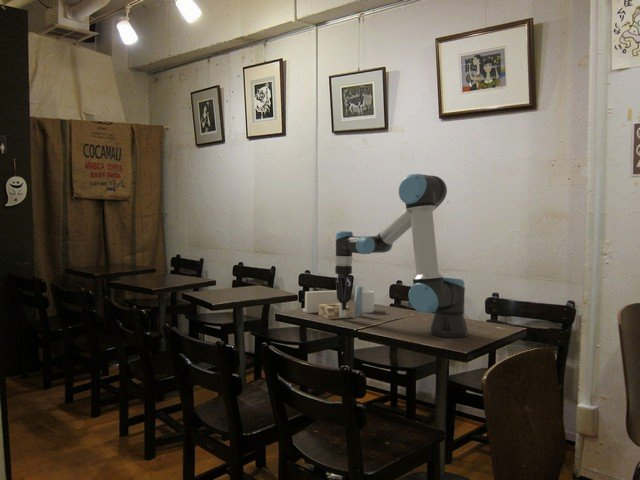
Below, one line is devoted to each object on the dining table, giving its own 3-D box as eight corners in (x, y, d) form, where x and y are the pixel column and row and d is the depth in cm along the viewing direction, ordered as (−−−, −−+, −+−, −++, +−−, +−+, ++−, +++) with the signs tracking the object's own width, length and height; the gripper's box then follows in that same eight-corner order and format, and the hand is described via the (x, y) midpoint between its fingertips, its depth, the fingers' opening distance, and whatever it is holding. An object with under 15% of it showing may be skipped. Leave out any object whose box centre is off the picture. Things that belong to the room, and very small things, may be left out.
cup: (353, 311, 264) (354, 291, 263) (366, 308, 273) (367, 288, 273) (367, 313, 259) (368, 293, 258) (380, 310, 268) (381, 290, 268)
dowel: (363, 316, 251) (363, 287, 250) (356, 317, 249) (357, 287, 248) (359, 315, 254) (360, 286, 253) (353, 315, 252) (354, 286, 252)
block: (349, 317, 248) (349, 306, 248) (328, 319, 243) (328, 308, 243) (339, 313, 258) (339, 303, 258) (318, 314, 253) (318, 304, 253)
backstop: (339, 310, 265) (340, 290, 264) (306, 312, 258) (307, 292, 257) (335, 309, 270) (335, 289, 269) (302, 311, 262) (303, 291, 262)
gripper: (357, 266, 236) (356, 318, 238) (344, 263, 248) (343, 313, 249) (342, 266, 233) (341, 319, 234) (330, 264, 245) (329, 314, 246)
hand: (342, 316), depth 242 cm, fingers closed
